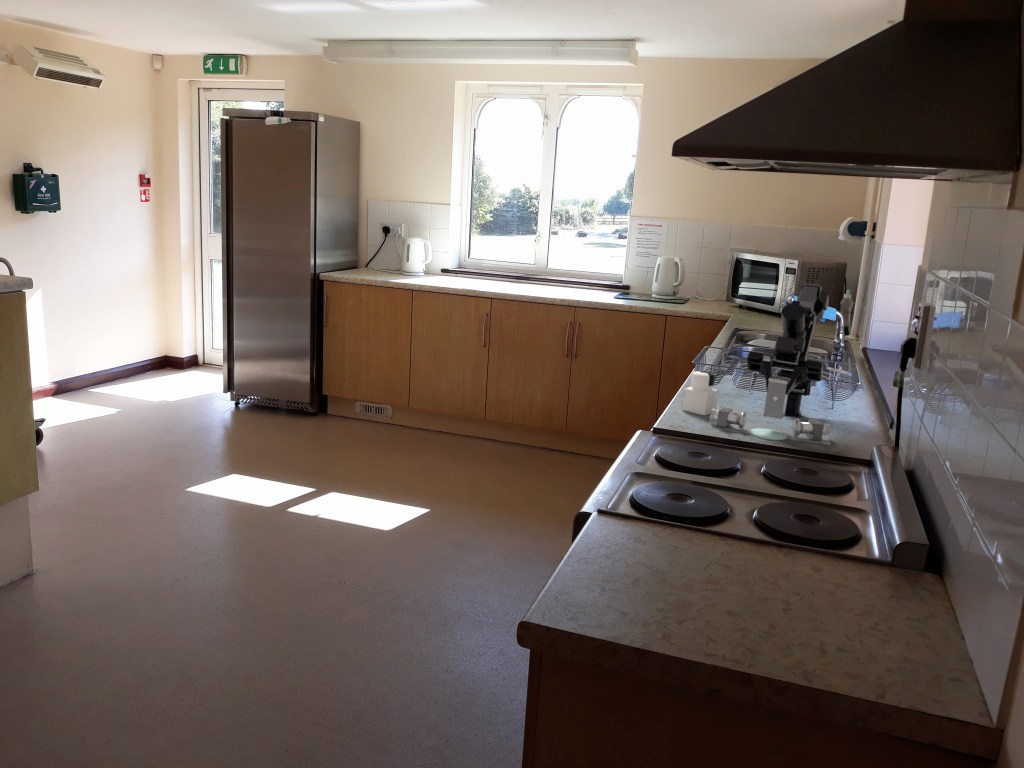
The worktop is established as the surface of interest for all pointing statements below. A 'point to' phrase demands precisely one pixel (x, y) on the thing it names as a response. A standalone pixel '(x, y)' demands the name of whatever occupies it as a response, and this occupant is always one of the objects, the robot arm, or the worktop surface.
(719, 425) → the shaft
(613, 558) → the worktop surface
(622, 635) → the worktop surface
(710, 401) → the medicine bottle
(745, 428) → the coupling board
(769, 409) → the block
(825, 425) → the shaft
